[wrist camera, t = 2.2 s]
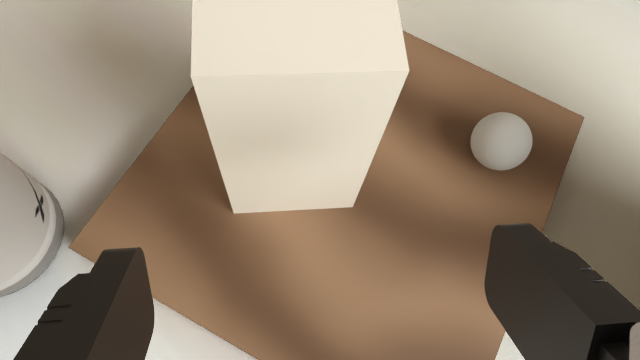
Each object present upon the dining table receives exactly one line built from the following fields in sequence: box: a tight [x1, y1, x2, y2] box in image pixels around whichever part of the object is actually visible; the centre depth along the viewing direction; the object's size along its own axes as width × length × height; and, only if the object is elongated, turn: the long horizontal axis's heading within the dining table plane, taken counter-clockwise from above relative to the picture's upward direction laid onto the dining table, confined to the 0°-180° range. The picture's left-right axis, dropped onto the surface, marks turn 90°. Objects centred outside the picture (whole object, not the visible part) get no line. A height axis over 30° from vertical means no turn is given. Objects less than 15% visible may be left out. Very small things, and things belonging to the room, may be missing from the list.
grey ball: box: [470, 112, 532, 171], centre depth 25 cm, size 3×3×3 cm
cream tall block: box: [191, 0, 409, 214], centre depth 20 cm, size 5×6×12 cm
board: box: [68, 31, 584, 360], centre depth 26 cm, size 20×20×2 cm
